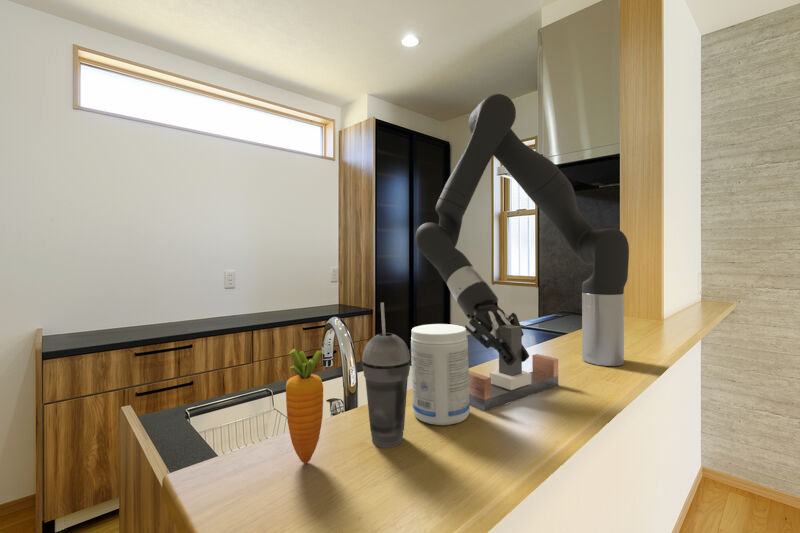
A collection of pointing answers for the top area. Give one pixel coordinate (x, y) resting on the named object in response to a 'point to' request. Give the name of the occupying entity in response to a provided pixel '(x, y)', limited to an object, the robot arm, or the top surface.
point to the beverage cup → (386, 385)
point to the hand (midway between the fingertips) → (519, 360)
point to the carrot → (304, 405)
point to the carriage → (513, 373)
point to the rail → (495, 396)
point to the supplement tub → (440, 373)
